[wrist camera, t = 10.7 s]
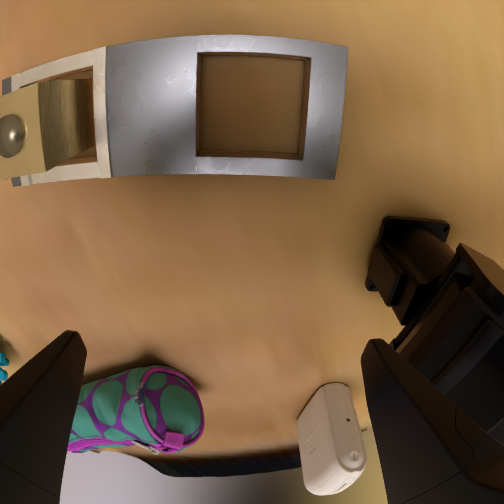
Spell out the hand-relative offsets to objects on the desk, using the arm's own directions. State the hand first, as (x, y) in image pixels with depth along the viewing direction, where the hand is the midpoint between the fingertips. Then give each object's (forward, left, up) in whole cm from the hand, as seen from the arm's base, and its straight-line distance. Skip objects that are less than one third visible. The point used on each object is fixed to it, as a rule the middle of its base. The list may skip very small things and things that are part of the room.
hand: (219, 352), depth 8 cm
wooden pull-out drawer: (+11, -6, -13) cm, 18 cm away
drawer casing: (+5, -6, -12) cm, 15 cm away
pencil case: (+13, +24, -13) cm, 30 cm away
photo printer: (-11, +26, -13) cm, 31 cm away
